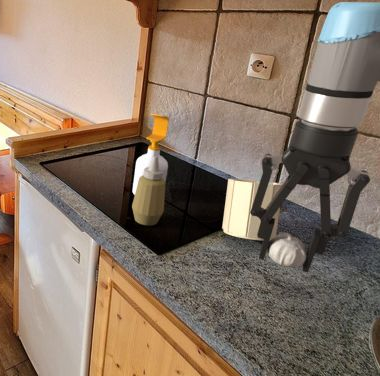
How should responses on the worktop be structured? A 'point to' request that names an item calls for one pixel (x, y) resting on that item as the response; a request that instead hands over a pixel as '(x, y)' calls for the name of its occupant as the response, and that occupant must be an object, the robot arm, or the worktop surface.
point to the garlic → (287, 250)
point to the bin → (246, 208)
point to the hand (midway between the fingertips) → (283, 260)
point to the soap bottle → (153, 150)
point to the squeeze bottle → (149, 195)
